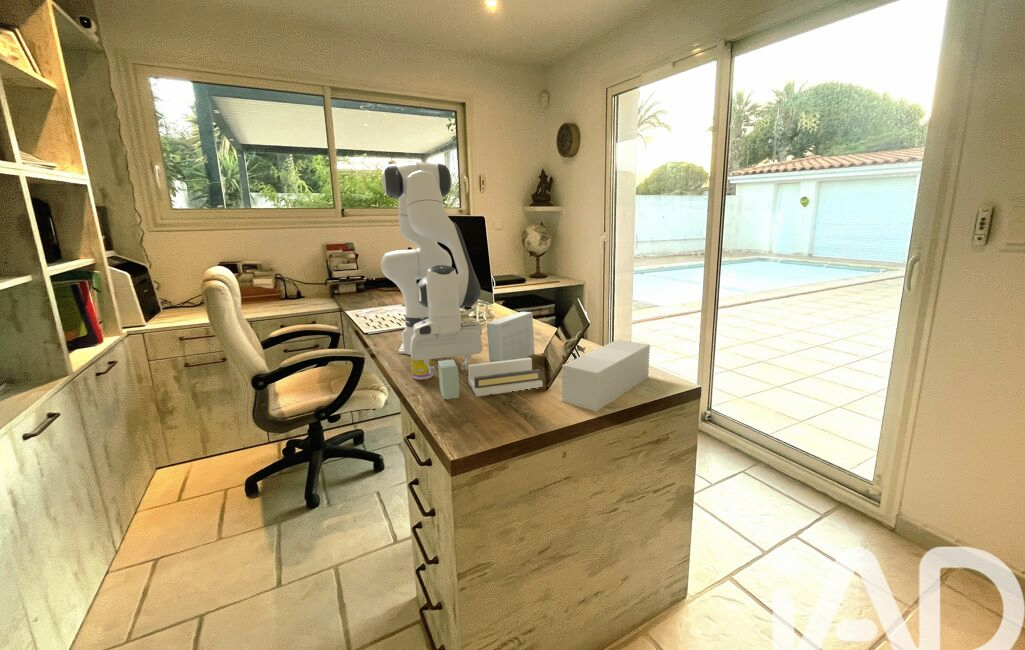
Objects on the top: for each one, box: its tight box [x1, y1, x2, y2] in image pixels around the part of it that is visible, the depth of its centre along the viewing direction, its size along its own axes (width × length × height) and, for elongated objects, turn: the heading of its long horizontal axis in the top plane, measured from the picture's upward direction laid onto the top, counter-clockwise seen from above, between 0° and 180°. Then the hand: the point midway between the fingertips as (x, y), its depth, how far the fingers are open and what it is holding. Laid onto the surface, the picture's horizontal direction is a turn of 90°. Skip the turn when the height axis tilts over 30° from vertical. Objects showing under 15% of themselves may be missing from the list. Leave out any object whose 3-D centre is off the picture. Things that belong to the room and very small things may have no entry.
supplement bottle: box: [410, 357, 434, 381], centre depth 141 cm, size 7×7×13 cm
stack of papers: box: [561, 339, 651, 412], centre depth 128 cm, size 32×11×11 cm, turn 139°
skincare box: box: [486, 311, 535, 362], centre depth 155 cm, size 21×6×16 cm, turn 144°
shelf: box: [467, 357, 543, 397], centre depth 133 cm, size 12×20×6 cm, turn 107°
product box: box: [437, 359, 460, 400], centre depth 127 cm, size 8×5×9 cm, turn 17°
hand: (448, 371), depth 126 cm, fingers open, 8 cm apart
